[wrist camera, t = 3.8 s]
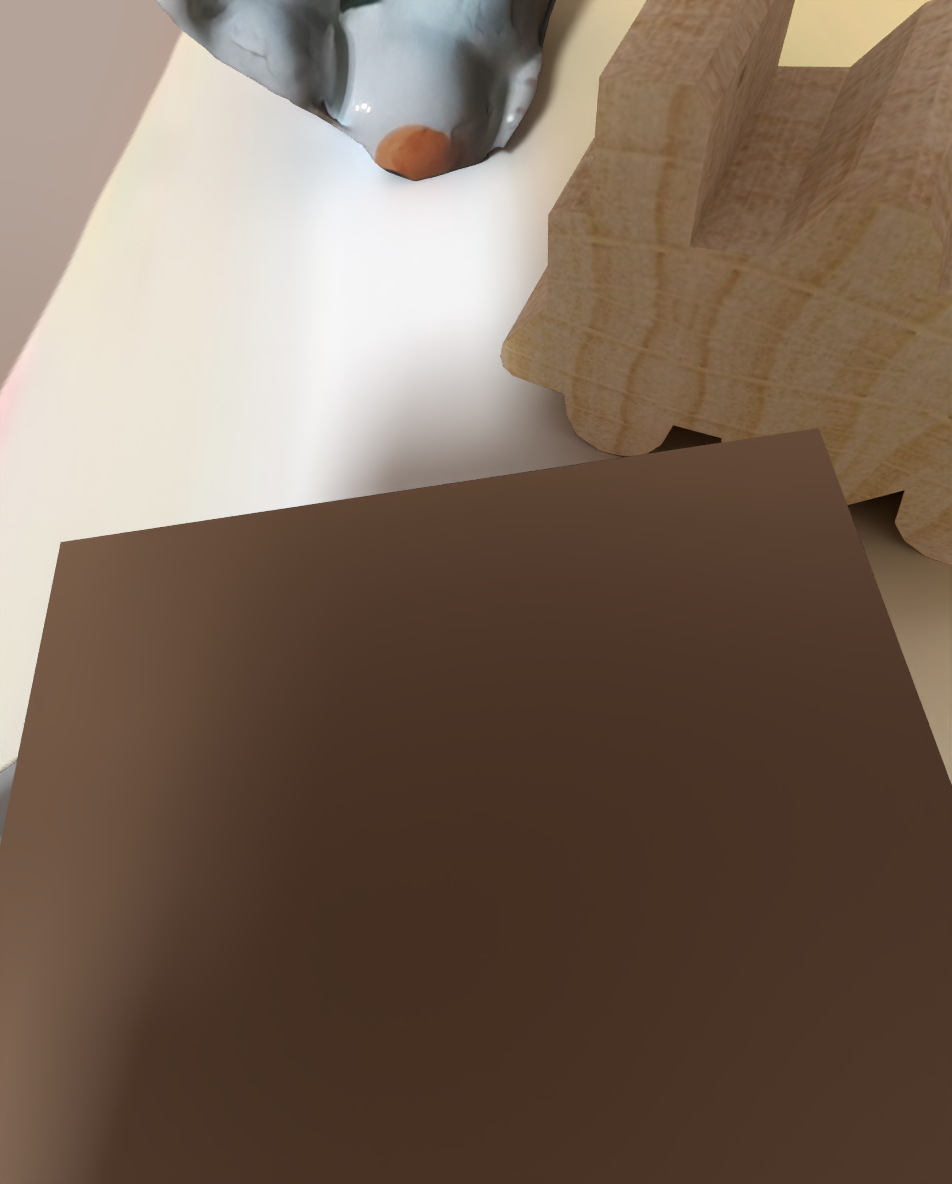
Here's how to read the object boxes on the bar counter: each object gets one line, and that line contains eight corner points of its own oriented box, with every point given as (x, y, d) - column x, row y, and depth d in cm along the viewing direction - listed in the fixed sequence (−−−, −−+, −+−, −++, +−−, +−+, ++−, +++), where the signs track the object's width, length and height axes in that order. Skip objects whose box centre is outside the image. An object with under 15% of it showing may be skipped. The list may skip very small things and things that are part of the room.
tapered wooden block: (655, 931, 13) (1366, 1886, 2) (446, 946, 14) (-186, 1761, 2) (617, 717, 15) (819, 427, 3) (434, 736, 15) (61, 542, 4)
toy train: (574, 302, 20) (588, -120, 11) (1143, 445, 16) (1996, -74, 6) (509, 422, 19) (461, 54, 10) (1114, 618, 14) (2155, 276, 5)
